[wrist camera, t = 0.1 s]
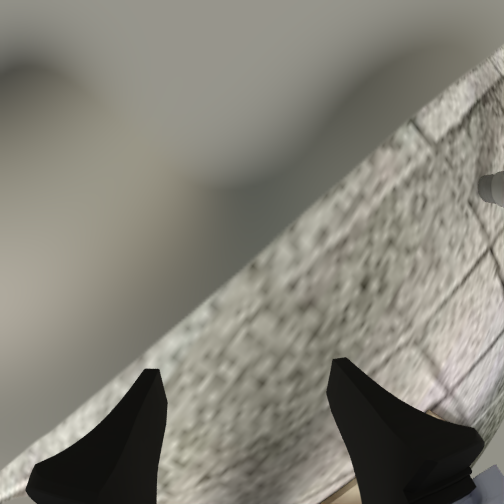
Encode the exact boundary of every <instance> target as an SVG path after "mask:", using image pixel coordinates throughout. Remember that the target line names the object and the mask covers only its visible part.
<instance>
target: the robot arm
mask: <svg viewBox="0 0 504 504" xmlns="http://www.w3.org/2000/svg"><path fill="white" fill-rule="evenodd" d="M326 393H327V397H328V401H329V405H330V409H331V412H332V414H333V417H334V419H335V422H336V424H337V426H338V429H339V431H340V433H341V436H342V438H343V440H344V443H345V445H346V447H347V450H348V452H349V455H350V458H351V461H352V465H353V468H354V472H355V476H356V480H357V484H358V488H359V492H360V497H361V502H362V504H504V476H503V474H502V473H501V471H500V470H499V468H498V467H497V465H493V466H491V467H490V468H488V469H487V470H485V471H484V472H482V473H480V474H479V475H477V476H476V477H475V478H473V479H472V478H471V477H470V474H471V473H472V470H471V468H470V467H469V466H470V465H471V464H472V462H473V461H474V460H475V459H476V458H477V456H478V455H479V454H480V452H481V451H482V450H483V447H484V441H483V439H482V438H481V436H480V435H479V434H478V432H477V431H476V430H475V428H471V427H467V426H462V425H458V424H454V423H450V422H447V421H444V420H441V419H438V418H436V417H433V416H431V415H428V414H426V413H424V412H422V411H420V410H418V409H416V408H414V407H412V406H410V405H408V404H407V403H405V402H403V401H401V400H400V399H398V398H397V397H395V396H394V395H392V394H391V393H389V392H388V391H386V390H385V389H384V388H382V387H381V386H380V385H378V384H377V383H376V382H375V381H373V380H372V379H371V378H370V377H369V376H367V375H366V374H365V373H364V372H363V371H361V370H360V369H359V368H358V367H357V366H356V365H355V364H353V363H352V362H351V361H350V360H349V359H348V358H346V357H344V358H337V359H333V360H332V366H331V371H330V376H329V381H328V386H327V391H326ZM167 404H168V402H167V398H166V394H165V390H164V387H163V383H162V378H161V374H160V370H159V369H144V370H143V372H142V373H141V374H140V376H139V377H138V379H137V380H136V381H135V383H134V384H133V385H132V387H131V388H130V389H129V391H128V392H127V393H126V394H125V396H124V397H123V398H122V399H121V401H120V402H119V403H118V404H117V405H116V406H115V408H114V409H113V410H112V411H111V412H110V413H109V414H108V415H107V416H106V417H105V418H104V419H103V420H102V421H101V422H100V423H99V424H98V425H97V426H96V427H95V428H94V429H93V430H92V431H90V432H89V433H88V434H87V435H85V436H84V437H83V438H81V439H80V440H79V441H77V442H76V443H75V444H73V445H72V446H70V447H69V448H67V449H65V450H64V451H62V452H60V453H58V454H56V455H55V456H53V457H50V458H48V459H46V460H44V461H42V462H40V463H37V464H35V466H34V468H33V470H32V473H31V475H30V478H29V481H28V484H27V486H26V492H27V494H28V496H29V497H30V498H31V499H32V500H33V501H34V502H36V503H37V504H156V502H157V472H158V464H159V459H160V453H161V448H162V443H163V438H164V432H165V427H166V420H167Z"/></svg>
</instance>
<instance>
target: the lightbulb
mask: <svg viewBox="0 0 504 504" xmlns="http://www.w3.org/2000/svg"><path fill="white" fill-rule="evenodd" d="M478 191H479V195H480V197H481V198H482V200H483V201H485V202H489V203H495V204H497V205H499V206H501V207H504V171H501V172H497V173H496V174H495V175H494V174H492V175H485V176H482V177H481V179H480V181H479V184H478Z"/></svg>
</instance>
